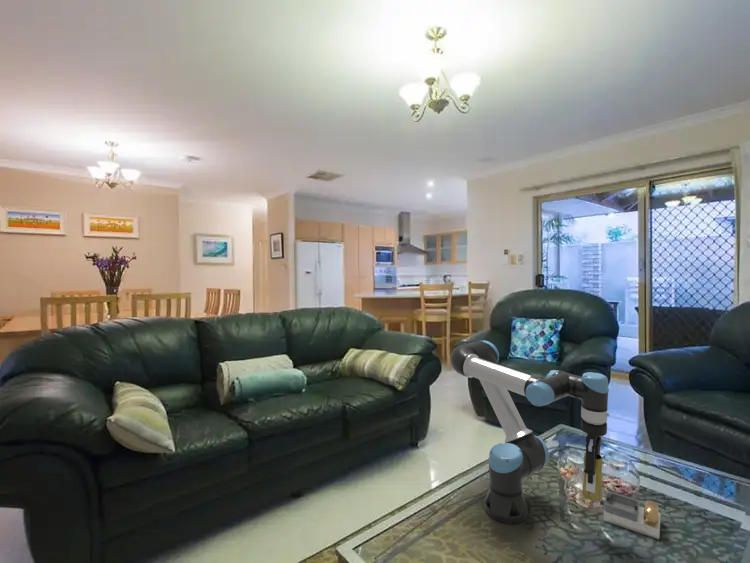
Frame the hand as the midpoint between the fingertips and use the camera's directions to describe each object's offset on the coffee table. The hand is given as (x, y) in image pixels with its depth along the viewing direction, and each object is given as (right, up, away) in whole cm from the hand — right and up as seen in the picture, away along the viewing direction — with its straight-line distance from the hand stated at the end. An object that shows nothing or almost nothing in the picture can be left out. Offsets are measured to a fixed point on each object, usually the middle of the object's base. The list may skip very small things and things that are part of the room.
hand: (592, 486), depth 132 cm
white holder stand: (+17, -15, +6) cm, 24 cm away
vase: (0, -4, 0) cm, 4 cm away
